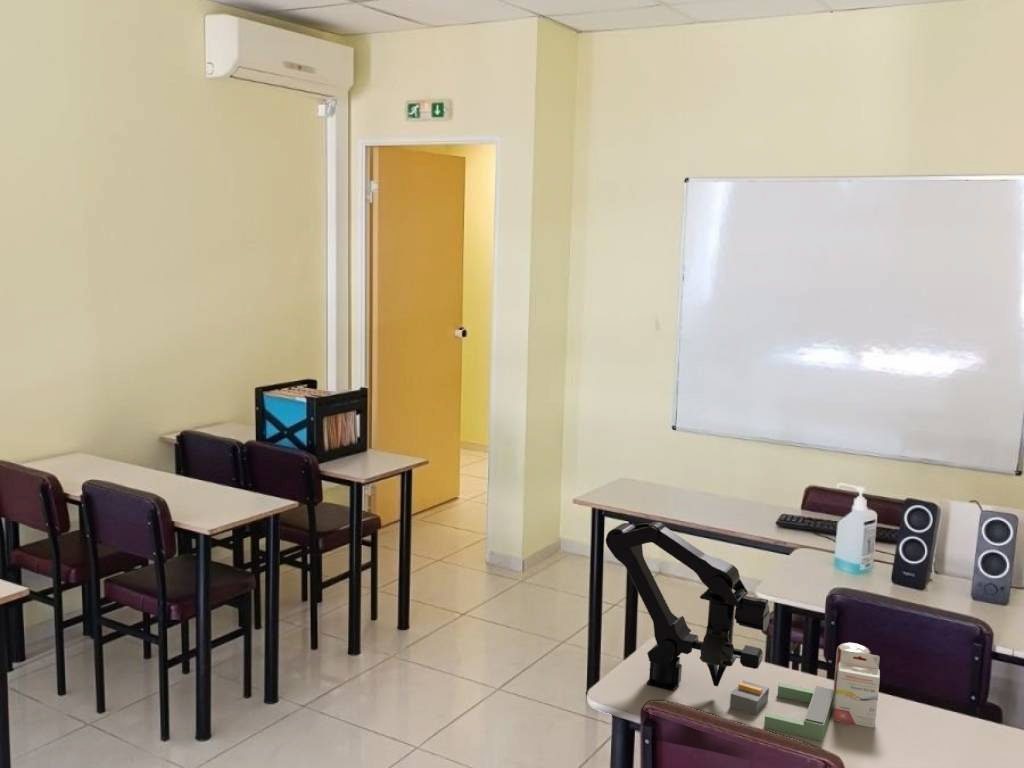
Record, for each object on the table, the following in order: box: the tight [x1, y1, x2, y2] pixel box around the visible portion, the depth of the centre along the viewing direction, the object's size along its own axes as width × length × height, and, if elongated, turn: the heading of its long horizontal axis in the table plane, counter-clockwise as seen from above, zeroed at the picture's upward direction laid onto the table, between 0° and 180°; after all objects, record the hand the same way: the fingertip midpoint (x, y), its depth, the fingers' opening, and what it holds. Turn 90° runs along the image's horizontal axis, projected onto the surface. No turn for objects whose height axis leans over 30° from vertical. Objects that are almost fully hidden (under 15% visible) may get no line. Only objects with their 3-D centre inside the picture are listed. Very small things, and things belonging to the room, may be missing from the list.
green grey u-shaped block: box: [763, 682, 835, 742], centre depth 212 cm, size 12×18×4 cm, turn 155°
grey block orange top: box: [729, 679, 770, 716], centre depth 216 cm, size 6×8×4 cm
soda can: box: [833, 642, 872, 697], centre depth 220 cm, size 7×7×12 cm
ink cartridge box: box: [833, 650, 881, 729], centre depth 210 cm, size 9×5×15 cm, turn 71°
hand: (716, 685), depth 219 cm, fingers closed
